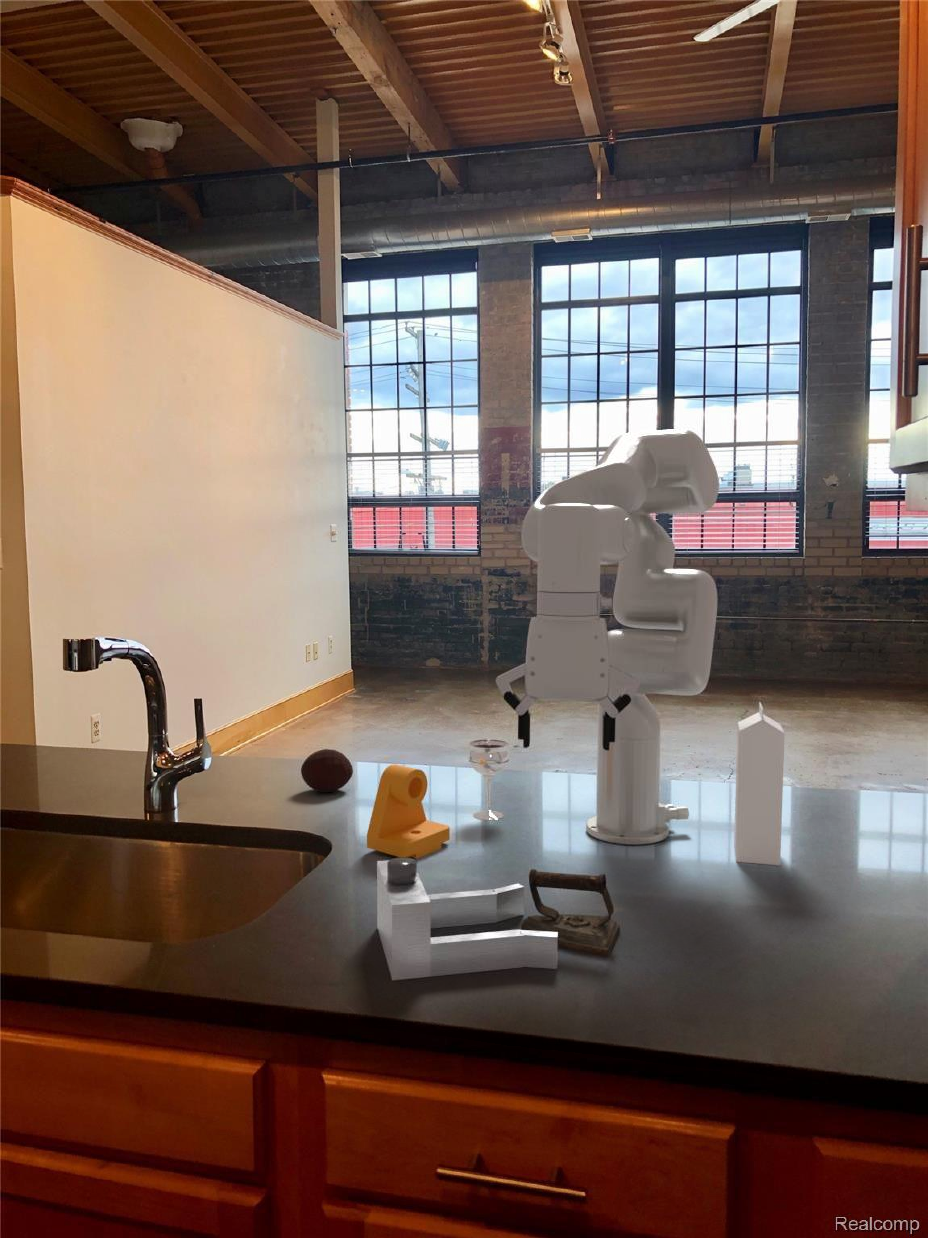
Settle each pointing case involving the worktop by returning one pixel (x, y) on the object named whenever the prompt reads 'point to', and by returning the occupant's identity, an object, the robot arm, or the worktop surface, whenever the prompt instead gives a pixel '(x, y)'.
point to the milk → (759, 790)
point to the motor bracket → (415, 913)
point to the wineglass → (488, 767)
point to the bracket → (403, 816)
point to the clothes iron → (574, 929)
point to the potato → (326, 770)
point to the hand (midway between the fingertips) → (566, 746)
